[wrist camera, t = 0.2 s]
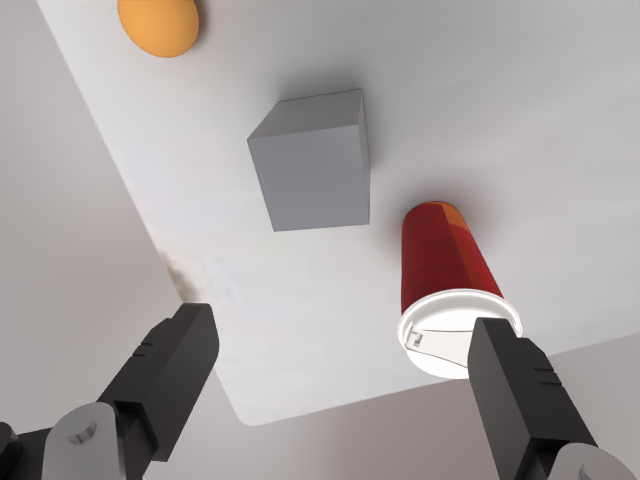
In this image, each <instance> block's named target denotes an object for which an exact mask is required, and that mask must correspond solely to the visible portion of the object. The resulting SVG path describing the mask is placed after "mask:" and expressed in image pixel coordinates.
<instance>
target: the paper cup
mask: <svg viewBox="0 0 640 480" xmlns="http://www.w3.org/2000/svg"><path fill="white" fill-rule="evenodd" d="M401 312H402V316H401V319H400V321H399V324H398V337H399V341H400V343H401V344H402V346H403V347H404V349H405V350H406V352H407V354H408V356H409V358H410V359H411V360H412V362H413V363H414V364H415V365H416V366H418V367H419V368H420V369H422V370H424V371H426V372H428V373H430V374H433V375H436V376H440V377H445V378H454V379H463V378H469V375H468V368H467V357H468V351H469V347H470V342H471V338H472V333H473V329H474V324H475V320H476V318H477V317H492V318H506V319H508V321H509V322H510V324H511V326H512V328H513V330H514V332H515V334H516V336H517V337H521V334H522V330H523V328H522V325H521V322H520V319H519V315H518V314H517V312H516V310H515V309H514V307H513V306H512V305H511V304H510V303H509V302H507V301H506V300H505V299H504V297H503V295H502V293H501V291H500V289H499V288H498V286H497V284H496V282H495V280H494V278H493V276H492V274H491V272H490V270H489V268H488V266H487V264H486V262H485V260H484V258H483V256H482V254H481V252H480V250H479V248H478V246H477V244H476V242H475V240H474V238H473V236H472V234H471V232H470V230H469V229H468V227H467V225H466V223H465V221H464V219H463V218H462V216H461V214H460V213H459V212H458V210H457V209H456V208H454V207H453V206H451V205H449V204H447V203H444V202H438V201H433V202H426V203H423V204H420V205H418V206H416V207H415V208H413V209H412V210H411V211H410V212H409V213H408V214H407V216H406V217H405V219H404V222H403V226H402V281H401Z"/></svg>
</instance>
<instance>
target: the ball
mask: <svg viewBox="0 0 640 480" xmlns="http://www.w3.org/2000/svg"><path fill="white" fill-rule="evenodd" d="M117 7H118V14H119V18H120V21H121V24H122V26H123V28H124V30H125V32H126V33H127V35H128V36H129V37H130V39H131V40H132V41H133V42H134V43H135V44H136V45H137V46H139V47H140V48H141V49H142V50H144V51H146V52H147V53H149V54H152V55H154V56H158V57H164V58H171V57H176V56H179V55H181V54H183V53H185V52H186V51H187V50H189V49H190V47H191V46H192V45H193V44H194V42H195V40H196V37H197V34H198V30H199V17H198V12H197V8H196V5H195V3H194V1H193V0H118V1H117Z"/></svg>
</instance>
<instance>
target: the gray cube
mask: <svg viewBox="0 0 640 480" xmlns="http://www.w3.org/2000/svg"><path fill="white" fill-rule="evenodd" d="M247 142H248V146H249V149H250V153H251V156H252V159H253V163H254V166H255V169H256V173H257V176H258V180H259V183H260V186H261V190H262V193H263V196H264V200H265V203H266V207H267V210H268V213H269V217H270V220H271V223H272V227H273V230H274V232H277V231H290V230H303V229H315V228H328V227H341V226H353V225H366V224H369V213H370V160H369V150H368V140H367V131H366V121H365V111H364V101H363V91H362V89H357V90H350V91H344V92H338V93H331V94H325V95H318V96H312V97H305V98H299V99H293V100H286V101H280V102H278V103H277V104H276V105H275V106H274V107H273V109H272V110H271V111H270V112H269V114H268V115H267V116H266V117H265V118H264V120H263V121H262V122H261V123H260V124H259V126H258V127H257V128H256V129H255V130H254V132H253V133H252V134H251V135H250V136H249V138H248V139H247Z"/></svg>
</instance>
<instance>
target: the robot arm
mask: <svg viewBox="0 0 640 480" xmlns="http://www.w3.org/2000/svg"><path fill="white" fill-rule="evenodd" d="M218 352H219V337H218V333H217V329H216V325H215V320H214V316H213V312H212V308H211V306H210V305H209V304H206V303H183V304H182V305H181V306H180V308H179V309H178V311H177V312H176V313H175V315H174V316H173V317H172V319H171V318H166V319H165V320H163V321H162V322H160V323H159V324H158V325H156V326H155V327H154V328H152V329H151V330H150V332H149V333H148V334H147V336H146V337H145V338H144V340H143V341H142V342H141V345H140V346H138V347H137V349H136V350H135V351H134V353H133V355H132V357H130V358H129V359H128V361H127V362H126V363H125V364H124V366H123V367H122V368H121V370H120V371H119V372H118V374H117V375H116V376H115V377H114V379H113V380H112V382H111V383H110V384H109V385H108V387H107V388H106V389H105V391H104V392H103V393H102V395H101V396H100V397H99V398H98V400H97V401H96V402H94V403H89V404H86V405H83V406H80V407H78V408H76V409H74V410H73V411H71V412H69V413H68V414H67V415H65V416H64V417H63V418H61V419H60V420H59V421H58V422H57V424H55V426H54V427H52V428H47V429H42V430H38V431H33V432H29V433H24V434H19V435H16V434H15V432H14V431H13V430H12V428H11V427H10V426H9V425H8V424H7V423H4V422H0V480H146V476H145V471H146V469H147V468H148V465H149V463H150V462H151V460H152V461H161V462H167V461H168V459H169V457H170V455H171V453H172V450H173V448H174V446H175V444H176V442H177V440H178V438H179V436H180V434H181V432H182V430H183V427H184V426H185V424H186V422H187V419H188V417H189V415H190V413H191V411H192V409H193V407H194V405H195V403H196V401H197V399H198V397H199V395H200V393H201V390H202V388H203V386H204V384H205V382H206V380H207V378H208V376H209V374H210V372H211V370H212V368H213V366H214V364H215V362H216V359H217V356H218ZM467 368H468V375H469V379H470V382H471V385H472V388H473V392H474V395H475V398H476V402H477V405H478V409H479V412H480V415H481V418H482V422H483V425H484V428H485V432H486V435H487V438H488V442H489V444H490V448H491V451H492V455H493V458H494V461H495V465H496V468H497V471H498V475H499V478H500V480H637V479H636V477H635V476H634V475H633V473H632V472H631V471H630V470H629V469H628V468H627V467H626V466H625V465H624V464H623V463H622V462H620V461H619V460H618V459H617V458H615V457H614V456H612V455H611V454H609V453H608V452H606V451H604V450H602V449H600V448H599V447H598V445H597V444H596V442H595V441H594V439H593V437H592V436H591V434H590V432H589V431H588V428H587V427H586V425H585V423H584V421H583V420H582V418H581V416H580V414H579V413H578V411H577V409H576V407H575V406H574V404H573V402H572V400H571V399H570V397H569V395H568V394H567V392H566V390H565V388H564V387H562V383H561V381H560V380H559V378H558V376H557V374H556V373H554V369H553V367H552V366H551V364H550V362H549V360H548V359H547V357H546V355H545V353H544V352H543V351H542V350H541V349H540V348H538V347H537V346H536V345H535V344H534V343H533V342H532V341H531V340H530V339H529V338H520V337H517V336H516V334H515V332H514V330H513V328H512V326H511V324H510V322H509V321H508V319H506V318H492V317H477V318H476V320H475V324H474V329H473V333H472V338H471V342H470V347H469V351H468V357H467Z"/></svg>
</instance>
